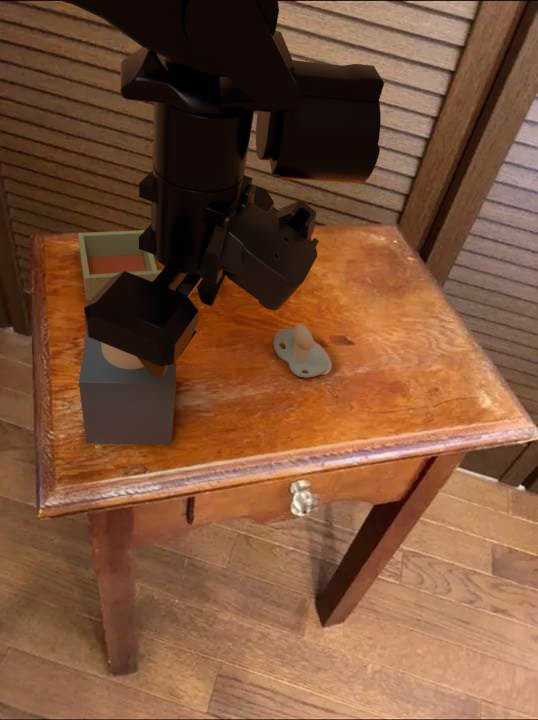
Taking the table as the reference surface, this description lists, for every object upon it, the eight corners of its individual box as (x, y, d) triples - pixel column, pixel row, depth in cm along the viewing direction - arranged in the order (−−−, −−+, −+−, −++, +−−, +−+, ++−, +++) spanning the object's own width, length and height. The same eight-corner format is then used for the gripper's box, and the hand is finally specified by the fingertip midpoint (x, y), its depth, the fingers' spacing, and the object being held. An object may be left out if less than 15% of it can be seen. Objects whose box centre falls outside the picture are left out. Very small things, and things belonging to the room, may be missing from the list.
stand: (86, 447, 56) (78, 381, 49) (94, 382, 61) (88, 313, 54) (171, 448, 58) (176, 384, 50) (172, 384, 63) (176, 318, 55)
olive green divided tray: (87, 304, 68) (84, 278, 65) (80, 259, 73) (77, 232, 70) (218, 294, 73) (222, 269, 70) (204, 252, 78) (206, 227, 75)
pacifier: (304, 333, 71) (264, 348, 68) (316, 294, 67) (275, 309, 64) (341, 374, 68) (301, 392, 65) (357, 336, 64) (315, 354, 60)
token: (99, 368, 50) (97, 349, 48) (104, 326, 53) (103, 306, 51) (158, 370, 51) (159, 351, 49) (160, 329, 54) (161, 309, 52)
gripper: (266, 301, 29) (229, 463, 41) (357, 145, 42) (309, 304, 53) (70, 225, 31) (87, 404, 42) (214, 96, 43) (198, 261, 55)
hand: (183, 337), depth 48 cm, fingers open, 9 cm apart
